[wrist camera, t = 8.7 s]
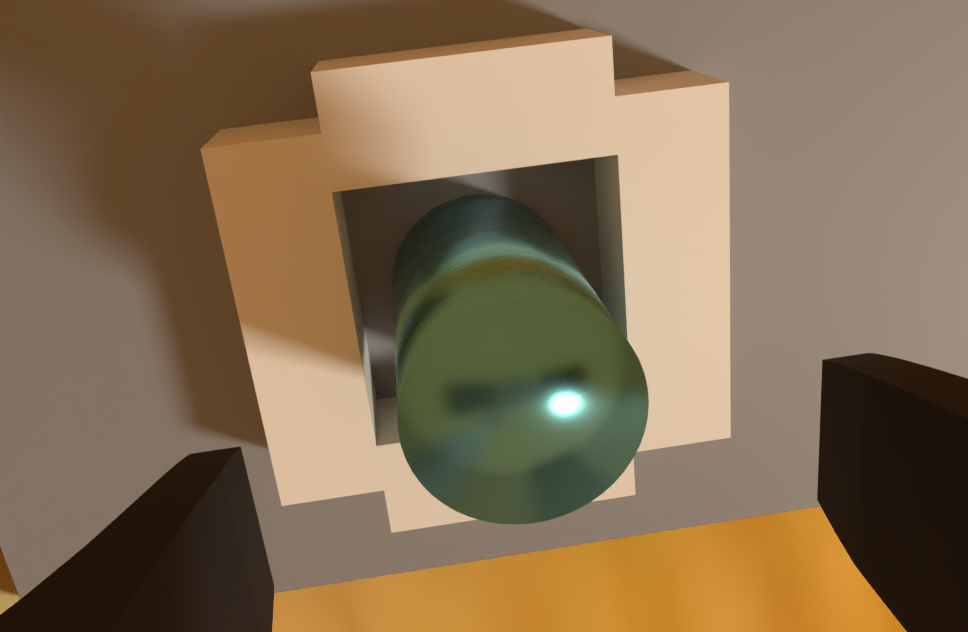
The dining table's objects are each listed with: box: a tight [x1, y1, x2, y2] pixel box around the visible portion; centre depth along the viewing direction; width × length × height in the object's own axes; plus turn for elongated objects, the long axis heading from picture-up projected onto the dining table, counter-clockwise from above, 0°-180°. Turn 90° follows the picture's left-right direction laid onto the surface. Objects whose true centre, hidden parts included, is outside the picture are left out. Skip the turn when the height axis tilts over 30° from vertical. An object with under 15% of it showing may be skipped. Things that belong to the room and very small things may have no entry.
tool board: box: [0, 0, 968, 599], centre depth 18 cm, size 22×14×3 cm, turn 96°
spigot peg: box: [392, 194, 649, 525], centre depth 15 cm, size 4×4×6 cm
